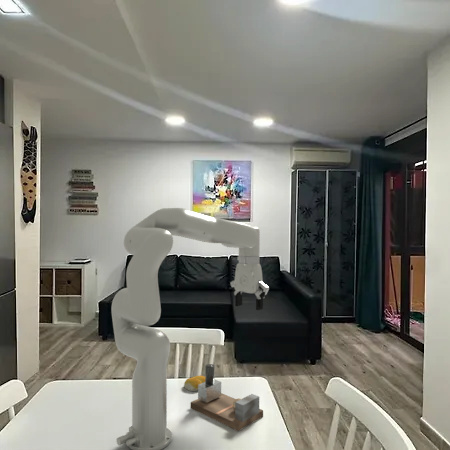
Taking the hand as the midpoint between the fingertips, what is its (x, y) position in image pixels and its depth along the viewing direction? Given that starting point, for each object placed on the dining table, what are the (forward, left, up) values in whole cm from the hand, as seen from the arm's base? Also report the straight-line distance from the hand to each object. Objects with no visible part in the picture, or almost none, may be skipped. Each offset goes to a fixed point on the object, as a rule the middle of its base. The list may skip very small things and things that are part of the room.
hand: (248, 307), depth 145 cm
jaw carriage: (-17, +3, -28) cm, 33 cm away
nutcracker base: (-17, -5, -31) cm, 35 cm away
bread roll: (-10, +17, -31) cm, 37 cm away
